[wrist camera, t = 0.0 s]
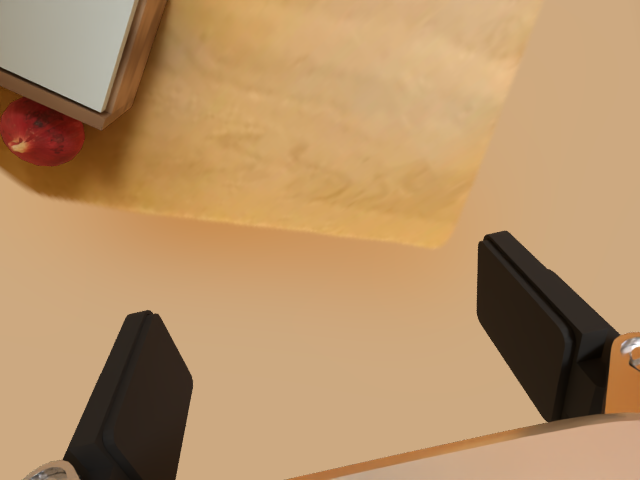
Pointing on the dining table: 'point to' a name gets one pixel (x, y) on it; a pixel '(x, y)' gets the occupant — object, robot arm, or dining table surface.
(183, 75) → the dining table surface
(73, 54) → the lid
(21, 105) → the onion
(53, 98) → the lid box
